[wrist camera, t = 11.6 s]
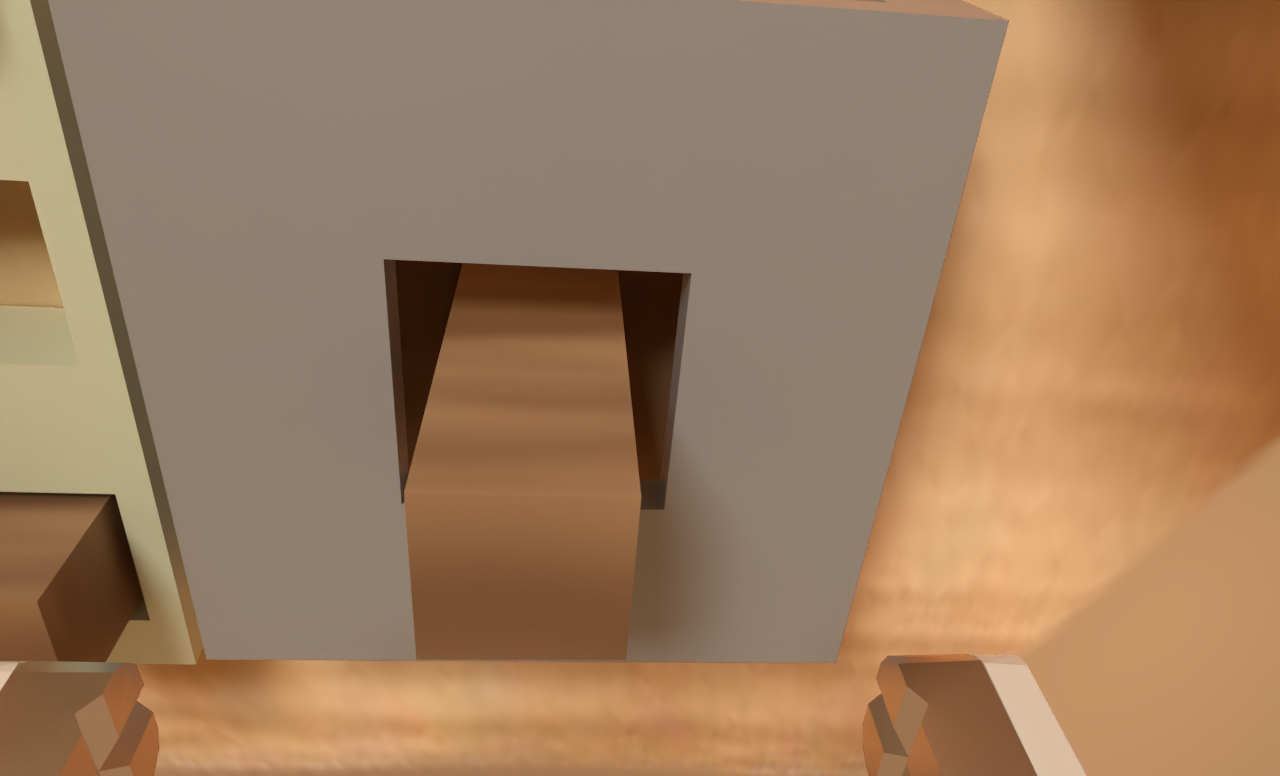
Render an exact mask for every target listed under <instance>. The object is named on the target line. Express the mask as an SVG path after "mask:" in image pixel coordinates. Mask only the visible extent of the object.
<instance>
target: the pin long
mask: <svg viewBox="0 0 1280 776" xmlns="http://www.w3.org/2000/svg"><path fill="white" fill-rule="evenodd" d="M404 501H405V514H406V527H407V540H408V554H409V567H410V580H411V594H412V607H413V620H414V633H415V647H416V660H626V654H627V644H628V633H629V623H630V612H631V602H632V591H633V580H634V570H635V559H636V549H637V538H638V528H639V517H640V507H641V489H640V479H639V469H638V460H637V450H636V440H635V431H634V421H633V411H632V401H631V392H630V382H629V372H628V363H627V353H626V343H625V333H624V324H623V314H622V304H621V295H620V285H619V275H618V270H607V269H585V268H563V267H541V266H520V265H498V264H476V263H462V267H461V271H460V275H459V279H458V283H457V287H456V291H455V295H454V299H453V303H452V306H451V310H450V314H449V318H448V322H447V326H446V330H445V334H444V338H443V342H442V346H441V349H440V353H439V357H438V361H437V365H436V369H435V373H434V377H433V381H432V385H431V389H430V393H429V396H428V400H427V404H426V408H425V412H424V416H423V420H422V424H421V428H420V432H419V436H418V439H417V443H416V447H415V451H414V455H413V459H412V463H411V467H410V471H409V475H408V479H407V483H406V486H405V490H404Z"/></svg>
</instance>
